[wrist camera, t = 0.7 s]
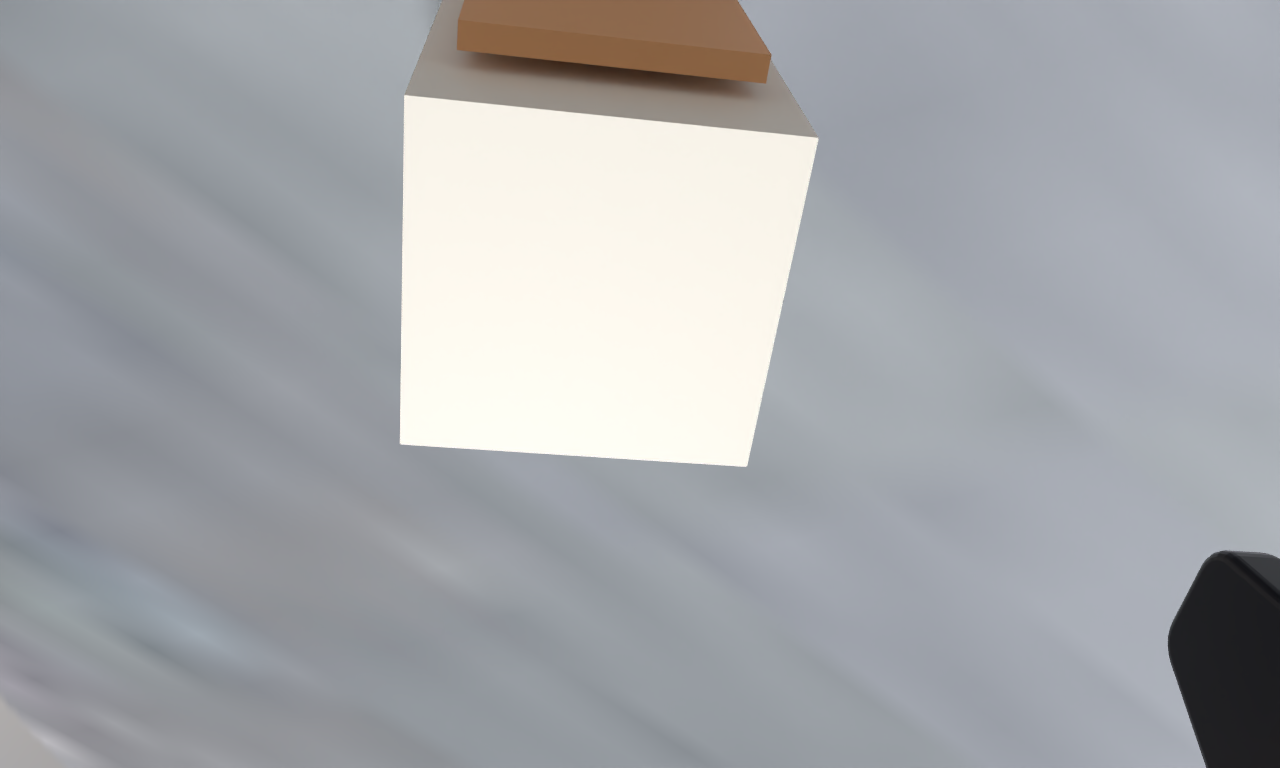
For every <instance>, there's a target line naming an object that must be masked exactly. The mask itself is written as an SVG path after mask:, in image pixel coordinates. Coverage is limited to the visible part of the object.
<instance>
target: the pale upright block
mask: <svg viewBox="0 0 1280 768" xmlns="http://www.w3.org/2000/svg"><path fill="white" fill-rule="evenodd" d="M818 139H819V138H818V136H817V134H816V133H815V131H814V129H813V128H812V126H811V125H810V123H809V121H808V120H807V118H806V116H805V115H804V113H803V112H802V110H801V108H800V107H799V105H798V103H797V102H796V100H795V98H794V97H793V95H792V94H791V92H790V90H789V89H788V87H787V85H786V84H785V82H784V81H783V79H782V77H781V76H780V74H779V72H778V71H777V69H776V68H775V66H774V64H773V63H772V61H771V53H770V52H769V50H768V49H767V47H766V45H765V44H764V42H763V41H762V39H761V37H760V36H759V34H758V33H757V31H756V29H755V28H754V26H753V25H752V23H751V21H750V20H749V18H748V17H747V15H746V13H745V12H744V10H743V9H742V7H741V5H740V4H739V2H738V1H737V0H442V2H441V5H440V7H439V10H438V12H437V15H436V17H435V20H434V22H433V25H432V27H431V30H430V32H429V35H428V37H427V40H426V42H425V45H424V47H423V50H422V52H421V55H420V57H419V60H418V62H417V65H416V67H415V70H414V72H413V75H412V77H411V80H410V82H409V85H408V87H407V90H406V92H405V95H404V170H403V249H402V329H401V408H400V444H403V445H418V446H434V447H449V448H465V449H480V450H495V451H511V452H526V453H542V454H557V455H573V456H588V457H603V458H619V459H634V460H650V461H665V462H681V463H696V464H711V465H727V466H742V467H747V464H748V459H749V454H750V450H751V445H752V441H753V436H754V431H755V427H756V422H757V418H758V413H759V409H760V404H761V399H762V395H763V390H764V386H765V381H766V377H767V372H768V367H769V363H770V358H771V354H772V349H773V345H774V340H775V335H776V331H777V326H778V322H779V317H780V313H781V308H782V303H783V299H784V294H785V290H786V285H787V280H788V276H789V271H790V267H791V262H792V258H793V253H794V248H795V244H796V239H797V235H798V230H799V226H800V221H801V216H802V212H803V207H804V203H805V198H806V194H807V189H808V184H809V180H810V175H811V171H812V166H813V162H814V157H815V152H816V148H817V143H818Z"/></svg>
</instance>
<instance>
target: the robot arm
mask: <svg viewBox="0 0 1280 768" xmlns="http://www.w3.org/2000/svg"><path fill="white" fill-rule="evenodd" d="M1168 651H1169V658H1170V662H1171V665H1172V668H1173V671H1174V674H1175V677H1176V679H1177V682H1178V685H1179V688H1180V691H1181V694H1182V697H1183V700H1184V703H1185V706H1186V709H1187V712H1188V715H1189V718H1190V721H1191V724H1192V727H1193V730H1194V733H1195V736H1196V738H1197V741H1198V744H1199V747H1200V750H1201V753H1202V756H1203V759H1204V762H1205V765H1206V768H1280V559H1279V558H1277V557H1275V556H1273V555H1270V554H1266V553H1259V552H1242V551H1226V550H1225V551H1220V552H1216V553H1214V554H1212V555H1211V556H1210V557H1209V558H1207V559H1206V560H1205V562H1204V563H1203V565H1202V566H1201V568H1200V570H1199V572H1198V574H1197V576H1196V578H1195V580H1194V582H1193V584H1192V585H1191V587H1190V589H1189V591H1188V593H1187V595H1186V597H1185V599H1184V601H1183V603H1182V605H1181V607H1180V609H1179V611H1178V612H1177V614H1176V616H1175V618H1174V620H1173V622H1172V625H1171V627H1170V631H1169V635H1168Z"/></svg>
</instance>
